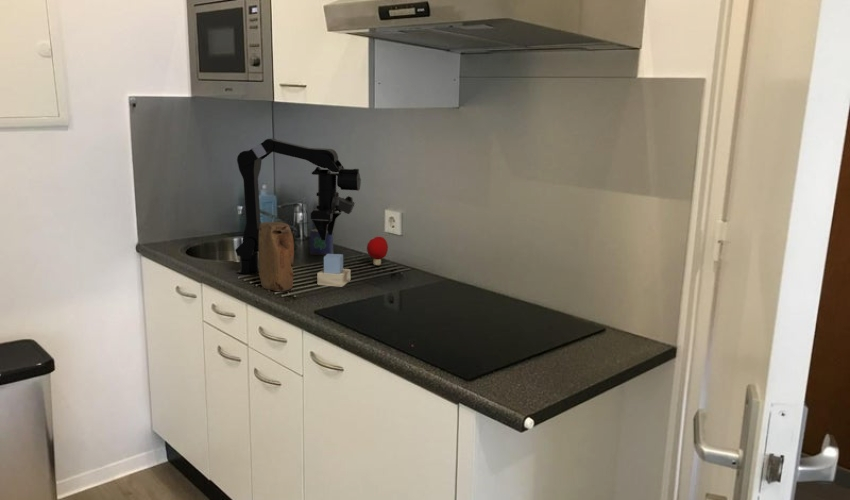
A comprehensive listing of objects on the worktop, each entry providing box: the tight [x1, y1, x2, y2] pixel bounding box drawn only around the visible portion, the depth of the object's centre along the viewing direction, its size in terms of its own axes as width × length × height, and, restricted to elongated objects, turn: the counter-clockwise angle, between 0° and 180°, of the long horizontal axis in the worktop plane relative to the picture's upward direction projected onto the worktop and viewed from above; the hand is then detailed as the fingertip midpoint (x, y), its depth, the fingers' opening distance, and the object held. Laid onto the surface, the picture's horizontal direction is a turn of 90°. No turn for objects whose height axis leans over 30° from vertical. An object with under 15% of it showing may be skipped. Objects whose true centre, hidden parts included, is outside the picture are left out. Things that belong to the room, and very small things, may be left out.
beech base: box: [316, 268, 352, 288], centre depth 212 cm, size 8×8×4 cm
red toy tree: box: [366, 236, 389, 267], centre depth 234 cm, size 9×7×10 cm
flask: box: [309, 228, 334, 257], centre depth 250 cm, size 9×3×11 cm, turn 72°
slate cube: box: [323, 253, 344, 274], centre depth 211 cm, size 5×5×5 cm
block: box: [257, 221, 295, 292], centre depth 203 cm, size 11×8×20 cm
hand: (327, 237), depth 218 cm, fingers open, 9 cm apart
